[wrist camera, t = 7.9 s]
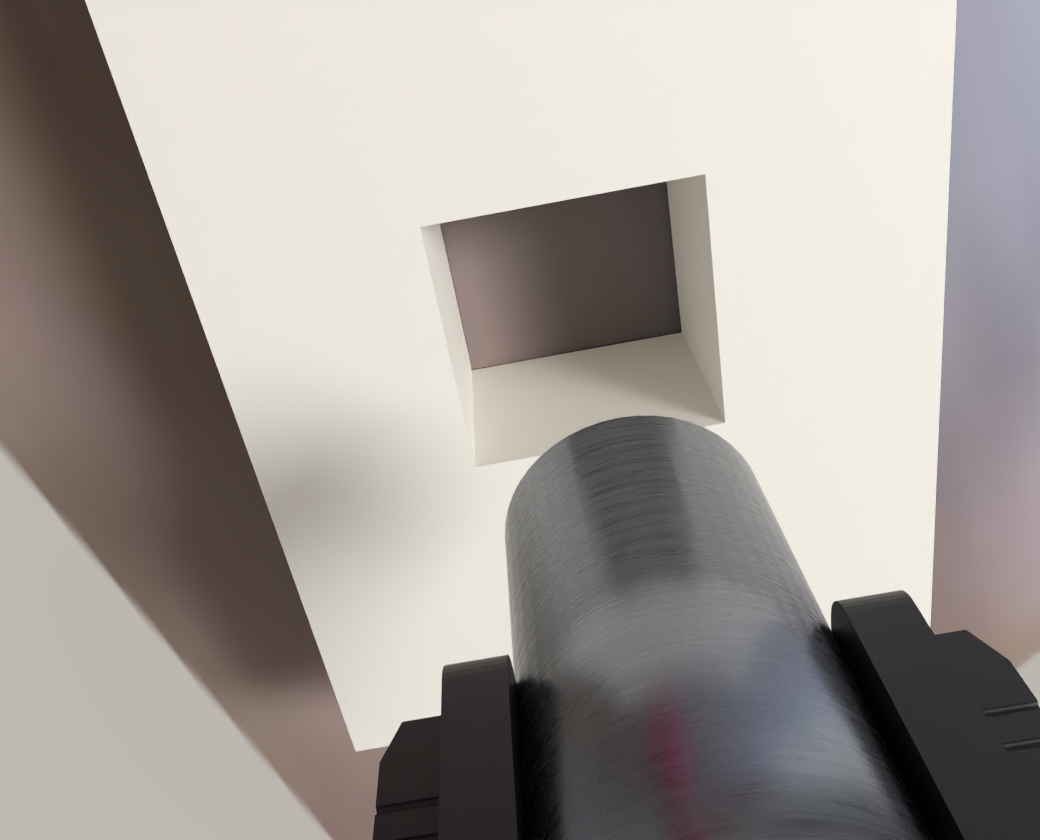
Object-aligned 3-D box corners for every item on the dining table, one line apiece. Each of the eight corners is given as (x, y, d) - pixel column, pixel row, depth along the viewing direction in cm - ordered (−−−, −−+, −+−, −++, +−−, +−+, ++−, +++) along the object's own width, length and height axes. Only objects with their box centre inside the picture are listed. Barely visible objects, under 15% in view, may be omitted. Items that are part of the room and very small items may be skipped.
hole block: (106, -188, 18) (12, -202, 14) (860, -340, 18) (973, -397, 14) (369, 628, 28) (355, 751, 24) (862, 543, 28) (928, 655, 24)
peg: (482, 441, 13) (527, 1603, 4) (756, 393, 13) (1381, 1491, 4) (528, 648, 15) (626, 1779, 6) (769, 608, 15) (1232, 1704, 6)
